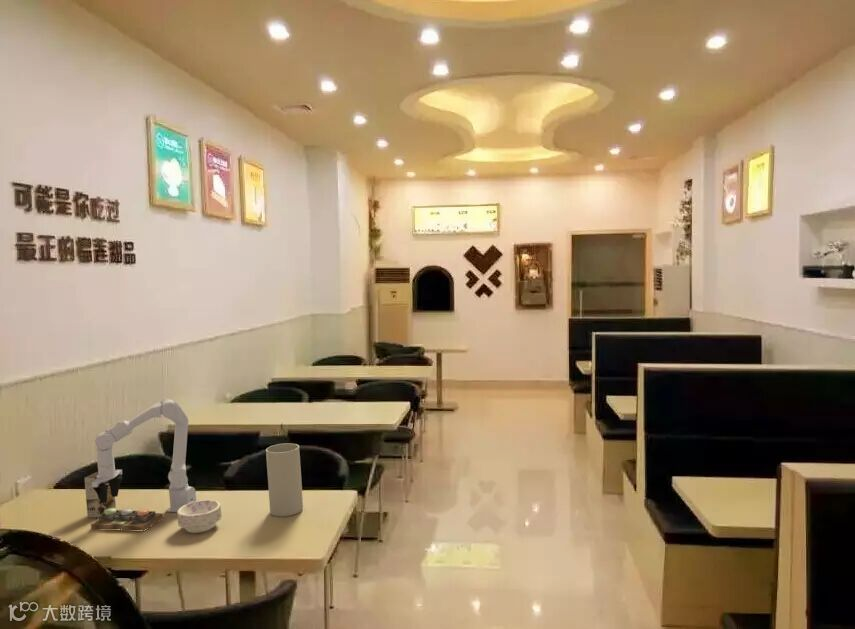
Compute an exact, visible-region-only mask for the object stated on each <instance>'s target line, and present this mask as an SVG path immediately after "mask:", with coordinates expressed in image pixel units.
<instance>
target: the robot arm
mask: <svg viewBox="0 0 855 629" xmlns="http://www.w3.org/2000/svg"><path fill="white" fill-rule="evenodd" d="M162 416H163V418H166V419H168V420H171V421H172V422H173V423H174V434H173V435H174V437H173V438H174V439H173V450H172V452H173V453H172V462H171V465H170V471H169V472H168V475H167V479H168V481H169V483H170V484H169V485H168V494H169V495H168V496H169V508H167V509H166V510H165V512H167V513H177V511H178V509H179V508H181V507H182V506H184V505H186V504H188V503H191V502H195V501H197V494H196V493H197V492H196V489H195V487H193V486H189V484H188V481H189V478H188V476H187V467H186V459H187V458H186V457H187V446H188V444H187V443H188V431H189V418H188V416H187V415H186V413H185V411H184V410H183V409H182V407H181V406H180V405H179V404H178V403H177V402H176V401H175V400H173V399H171V398H164V399H162V400H161V401H159V402H156V403H154V404H153V405H151V406H150V407H148V408H147V409H145V410H144V411H142V412H140V413H139V414H137V415H136V416H134V417H132V418H131V419H130V420H122V421H121V420H119V421H117V422H116V424H115V425H113V426H112V427H110V428H106V429H104V431H103V432H99V433H98V434H97V435H96V437H95V439H94V442H95V445H96V461H97V463H96V464H97V470H98V471H97V472H98V473H99V475H98V476H97V479H96V480H94V481H93V482H92V487H93V489H94V490H95V491H96V493H97V494H98V497H99V499H100V502H101V503H106V502H107V490H108V486H110V490H111V495H112V496H113V497H115V498H116V497H117V498H118V496H119V492H120V486H121V484H122V481H123V476H122V475H123V469H116V467H115V466H116V465H115V464H116V462H115V455H114V454H115V453H114V450H113V446H114V444H115V443H118V442H119V441H121V440H122V439H124V438H126V437H127V436H129V435H130V434H132V433H133V430H134V428H136V427H138V426H141V424H143V423H145V422H146V421H149V420H151V419H153V418H155V419H156V418H157V419H158V418H159V419H160V418H162ZM106 481H108V483H109V485H105V484H104V483H105V482H106Z"/></svg>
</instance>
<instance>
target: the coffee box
mask: <svg viewBox="0 0 855 629" xmlns="http://www.w3.org/2000/svg"><path fill="white" fill-rule="evenodd" d="M98 475H99V473H98V471H96V472H94V473H92V474H89V475H87V476H85V477H84V489H85V490H84V491H85V501H86V515H87V518H96V517H97V519H98V516H99V515H101V514H102V513H104V511H105V510H106V509H109V508H116V507H117V504H116V497H113V496H112V495H111V490H110V486H108V490H107V502H106V503H101V502H100V499H99V497H98V494H97V493H96V491H95V490H94V489H93V487H92V482H93V481H94V480H96V479H97V476H98ZM104 484H105V485H109V483H108V481H106V482H105V483H104ZM116 509H117V508H116Z"/></svg>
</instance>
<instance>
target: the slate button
mask: <svg viewBox="0 0 855 629" xmlns="http://www.w3.org/2000/svg"><path fill="white" fill-rule="evenodd" d="M133 511H134V510H133V509H132V508H124V509H122V511H121V516H130V515H131V514H133Z"/></svg>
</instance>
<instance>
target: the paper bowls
mask: <svg viewBox="0 0 855 629" xmlns="http://www.w3.org/2000/svg"><path fill="white" fill-rule="evenodd" d="M176 513H177V514H176V515H177V523H178V526H179V528H183V529H185V531H186V532H188V533H192V534H198V533H204V532H207V531H209V530H212V529H213V528H214V527H215V526H216V524H217V522H219V521H220V520H221V519H222V515H223V514H222V505H221V502H219V501H217V500H215V499H203V500H196V501H195V502H191V503H188V504H186V505H184V506H182V507H181V508H179V509H178V511H177V512H176Z"/></svg>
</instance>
